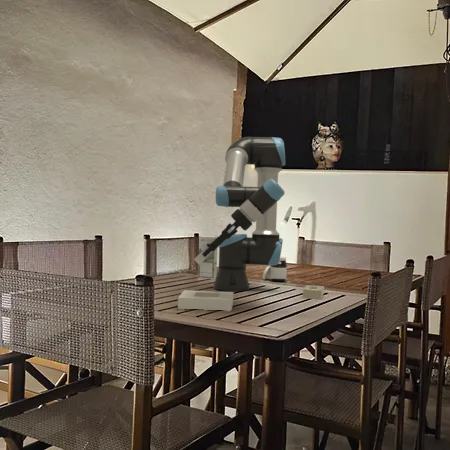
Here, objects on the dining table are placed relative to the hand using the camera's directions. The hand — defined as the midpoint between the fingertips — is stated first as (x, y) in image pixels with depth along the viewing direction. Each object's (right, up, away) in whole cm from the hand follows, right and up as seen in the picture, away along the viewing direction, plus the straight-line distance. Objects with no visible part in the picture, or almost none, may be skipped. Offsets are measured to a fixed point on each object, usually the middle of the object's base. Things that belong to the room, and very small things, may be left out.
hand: (197, 261), depth 190 cm
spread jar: (+33, -15, +73) cm, 81 cm away
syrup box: (+3, -6, 0) cm, 7 cm away
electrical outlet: (+46, -17, +33) cm, 59 cm away
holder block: (+3, -16, +1) cm, 16 cm away
